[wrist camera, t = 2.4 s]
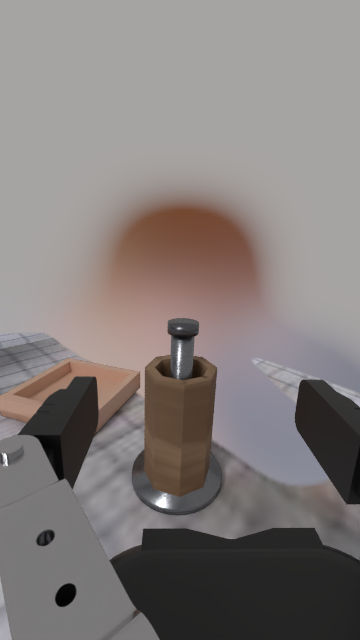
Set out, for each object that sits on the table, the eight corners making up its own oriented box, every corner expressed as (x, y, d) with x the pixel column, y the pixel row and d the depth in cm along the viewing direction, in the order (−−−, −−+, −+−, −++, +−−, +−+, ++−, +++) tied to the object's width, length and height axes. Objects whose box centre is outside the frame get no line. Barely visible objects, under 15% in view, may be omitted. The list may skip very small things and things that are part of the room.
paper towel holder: (114, 496, 24) (110, 330, 20) (153, 436, 31) (155, 306, 27) (210, 529, 21) (226, 347, 17) (227, 455, 29) (242, 316, 25)
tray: (0, 415, 34) (-2, 397, 33) (69, 372, 45) (68, 358, 44) (89, 440, 30) (87, 420, 29) (140, 387, 41) (140, 371, 40)
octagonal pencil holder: (136, 483, 24) (136, 375, 22) (165, 434, 31) (167, 345, 28) (198, 503, 23) (206, 389, 20) (215, 447, 29) (223, 354, 26)
